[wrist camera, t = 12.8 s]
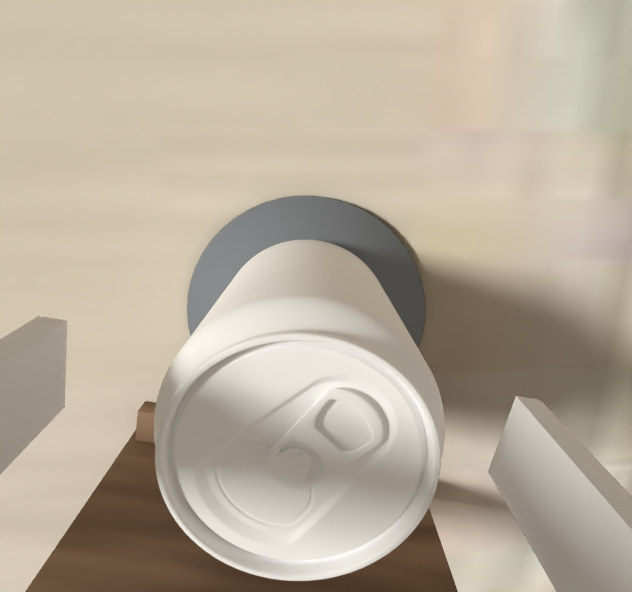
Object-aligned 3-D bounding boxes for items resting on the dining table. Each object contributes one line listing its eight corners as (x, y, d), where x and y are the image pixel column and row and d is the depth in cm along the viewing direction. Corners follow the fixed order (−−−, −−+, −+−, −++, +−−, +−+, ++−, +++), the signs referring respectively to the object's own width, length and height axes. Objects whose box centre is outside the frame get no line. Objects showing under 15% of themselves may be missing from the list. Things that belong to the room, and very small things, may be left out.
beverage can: (192, 313, 23) (66, 463, 11) (308, 201, 21) (303, 239, 10) (303, 417, 24) (294, 642, 13) (418, 320, 23) (526, 473, 11)
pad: (204, 173, 21) (202, 173, 21) (450, 221, 22) (452, 222, 22) (177, 398, 24) (174, 402, 24) (392, 434, 25) (393, 438, 25)
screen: (139, 400, 24) (-17, 608, 13) (425, 448, 25) (519, 681, 14) (132, 478, 26) (-17, 729, 14) (403, 520, 27) (473, 789, 15)
